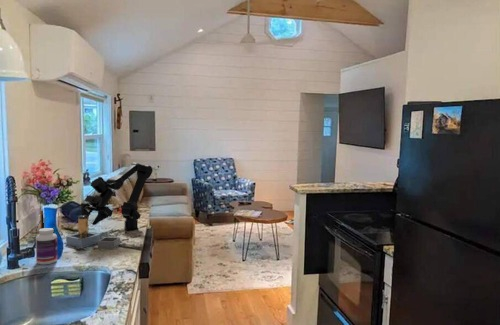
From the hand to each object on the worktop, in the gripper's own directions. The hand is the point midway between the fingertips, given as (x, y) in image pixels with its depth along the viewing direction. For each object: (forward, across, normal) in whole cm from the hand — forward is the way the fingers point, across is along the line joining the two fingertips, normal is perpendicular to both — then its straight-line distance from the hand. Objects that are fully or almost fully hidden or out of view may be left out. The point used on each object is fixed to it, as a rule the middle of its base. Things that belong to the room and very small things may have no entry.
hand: (86, 223), depth 190 cm
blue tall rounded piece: (+6, -28, +8) cm, 30 cm away
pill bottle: (+27, +9, -13) cm, 31 cm away
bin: (+8, 0, +5) cm, 10 cm away
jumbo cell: (+8, 0, +5) cm, 9 cm away
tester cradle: (+6, +14, +8) cm, 17 cm away
